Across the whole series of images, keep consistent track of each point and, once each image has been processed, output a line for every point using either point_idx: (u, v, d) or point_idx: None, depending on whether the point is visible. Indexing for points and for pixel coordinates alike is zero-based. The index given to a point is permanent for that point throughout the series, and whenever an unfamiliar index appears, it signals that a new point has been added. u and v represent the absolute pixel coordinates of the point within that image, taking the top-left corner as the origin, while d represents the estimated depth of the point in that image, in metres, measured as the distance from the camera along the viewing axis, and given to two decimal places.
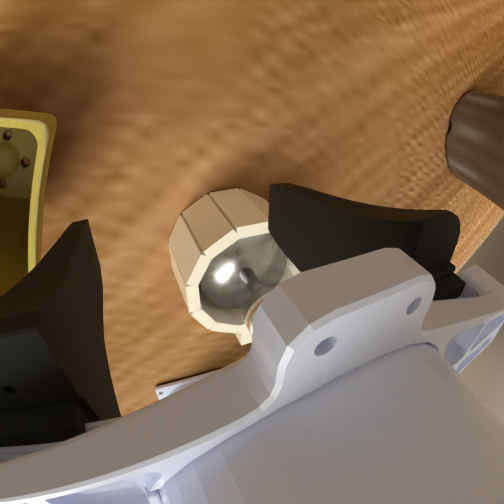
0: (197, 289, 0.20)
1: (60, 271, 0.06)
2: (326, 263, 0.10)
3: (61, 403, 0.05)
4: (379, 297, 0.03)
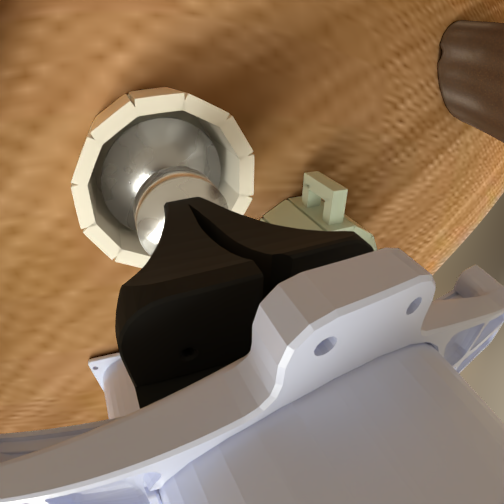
0: (87, 191, 0.13)
1: (200, 240, 0.08)
2: None
3: None
4: (379, 297, 0.03)
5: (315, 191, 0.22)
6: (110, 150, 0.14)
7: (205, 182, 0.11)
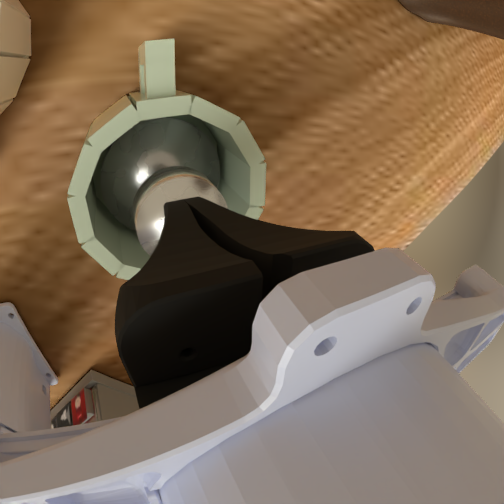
0: None
1: (200, 240, 0.08)
2: None
3: None
4: (379, 297, 0.03)
5: (141, 61, 0.12)
6: None
7: None
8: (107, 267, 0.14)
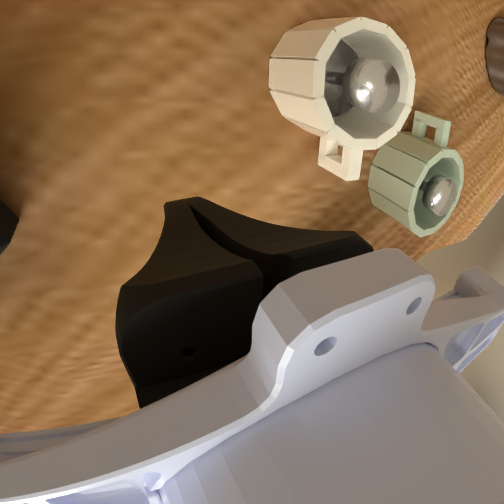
0: (324, 68, 0.16)
1: (200, 240, 0.08)
2: None
3: None
4: (379, 297, 0.03)
5: (426, 123, 0.24)
6: None
7: (392, 66, 0.16)
8: (410, 225, 0.26)
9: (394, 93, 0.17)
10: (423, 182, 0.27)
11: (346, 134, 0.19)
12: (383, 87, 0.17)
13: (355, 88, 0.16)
